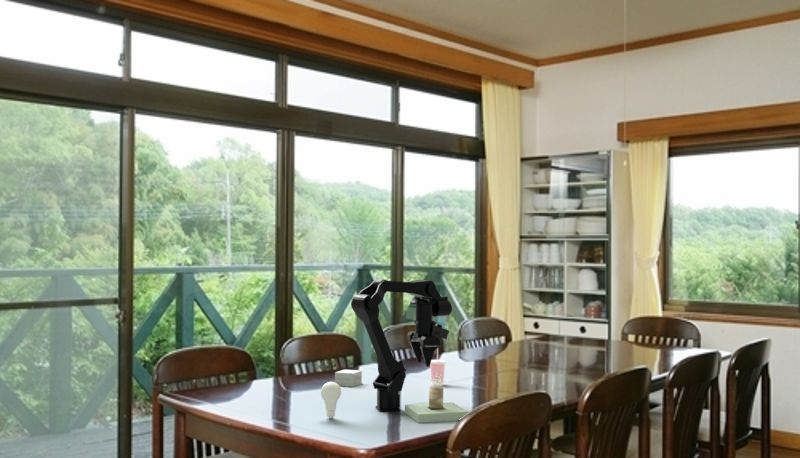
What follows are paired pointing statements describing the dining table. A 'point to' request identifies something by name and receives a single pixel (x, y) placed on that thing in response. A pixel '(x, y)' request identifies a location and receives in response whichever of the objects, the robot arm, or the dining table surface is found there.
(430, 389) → the peg
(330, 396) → the lightbulb
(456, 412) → the board
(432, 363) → the beverage cup
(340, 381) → the small box
